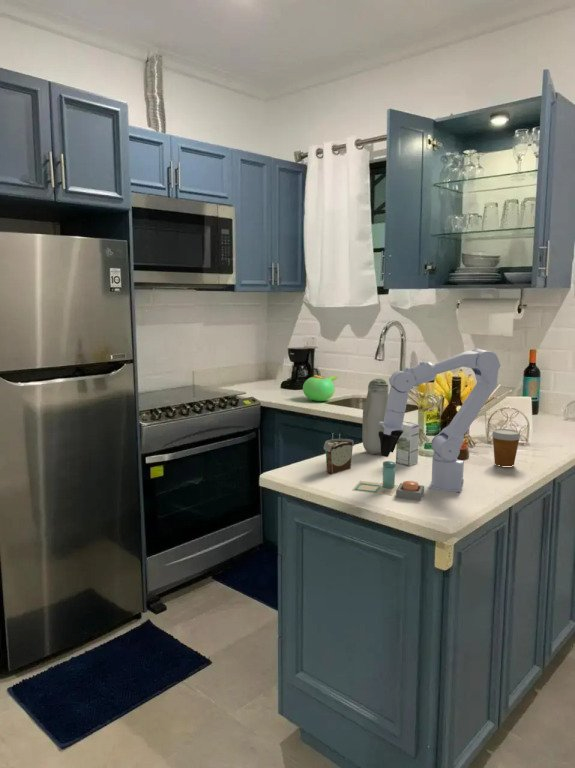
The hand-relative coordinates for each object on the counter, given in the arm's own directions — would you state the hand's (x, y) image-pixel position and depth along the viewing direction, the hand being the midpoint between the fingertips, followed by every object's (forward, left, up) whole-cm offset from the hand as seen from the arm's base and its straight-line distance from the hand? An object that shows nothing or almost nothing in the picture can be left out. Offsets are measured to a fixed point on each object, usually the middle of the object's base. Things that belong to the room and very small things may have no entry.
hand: (387, 454), depth 181 cm
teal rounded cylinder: (-1, 0, -10) cm, 10 cm away
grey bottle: (+12, -38, -11) cm, 41 cm away
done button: (-8, +6, -9) cm, 14 cm away
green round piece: (+66, -136, -11) cm, 151 cm away
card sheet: (+3, +3, -10) cm, 11 cm away
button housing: (-8, +6, -10) cm, 15 cm away
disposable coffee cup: (-33, -40, -11) cm, 53 cm away
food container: (+20, -11, -11) cm, 25 cm away
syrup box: (-1, -29, -11) cm, 31 cm away
